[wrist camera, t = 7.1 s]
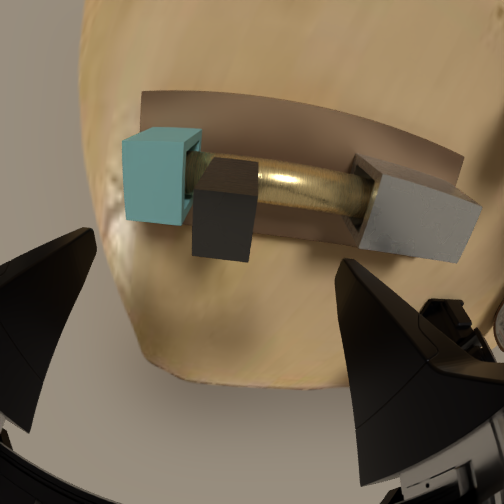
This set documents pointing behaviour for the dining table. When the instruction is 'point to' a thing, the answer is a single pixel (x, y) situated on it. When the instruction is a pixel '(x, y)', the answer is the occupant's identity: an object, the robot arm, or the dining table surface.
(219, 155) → the tube
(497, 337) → the tin
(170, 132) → the socket
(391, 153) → the base board
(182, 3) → the dining table surface
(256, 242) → the dining table surface
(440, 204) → the grey block
